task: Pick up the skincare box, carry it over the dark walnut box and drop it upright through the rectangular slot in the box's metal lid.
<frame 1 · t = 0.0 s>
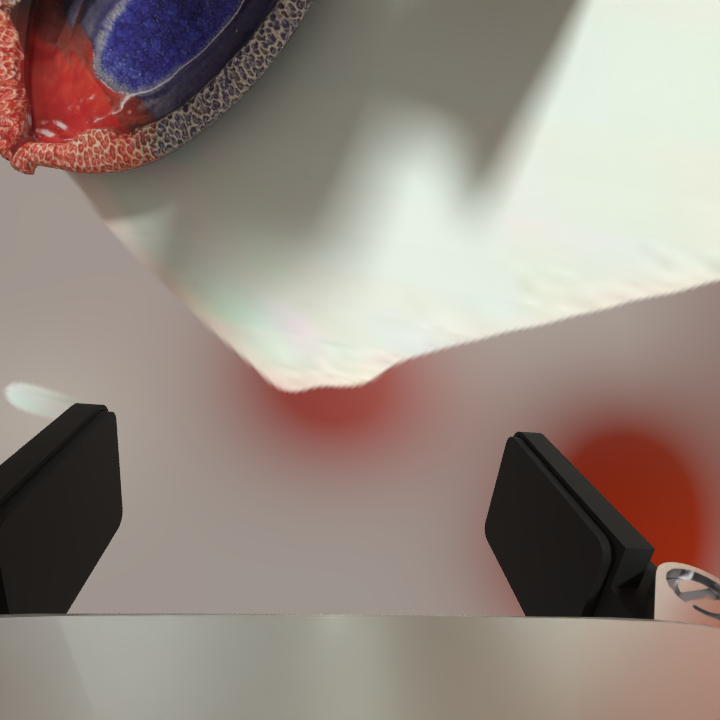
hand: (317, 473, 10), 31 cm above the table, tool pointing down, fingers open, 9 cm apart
dish: (170, 19, 33), on the table
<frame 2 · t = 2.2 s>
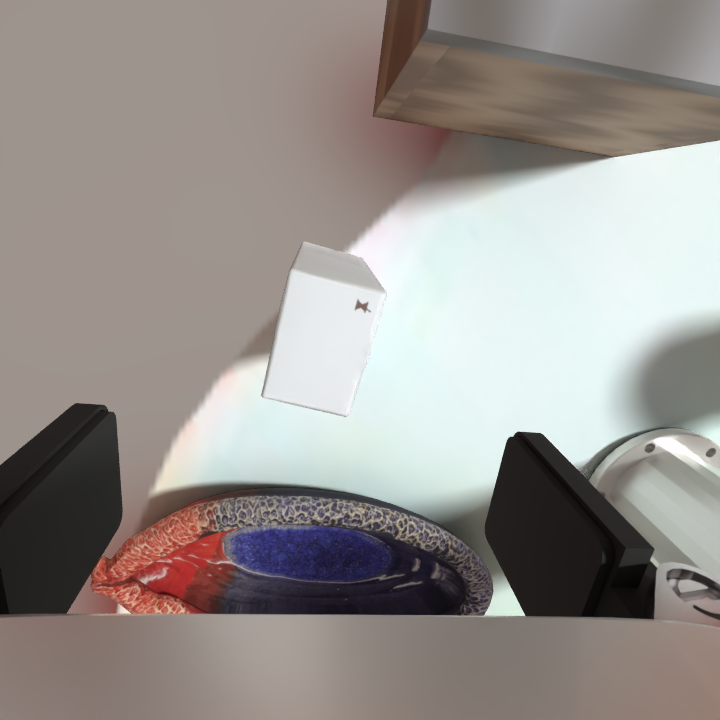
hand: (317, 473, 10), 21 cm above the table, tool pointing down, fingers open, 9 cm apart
skincare box: (321, 292, 30), on the table
dish: (306, 547, 37), on the table
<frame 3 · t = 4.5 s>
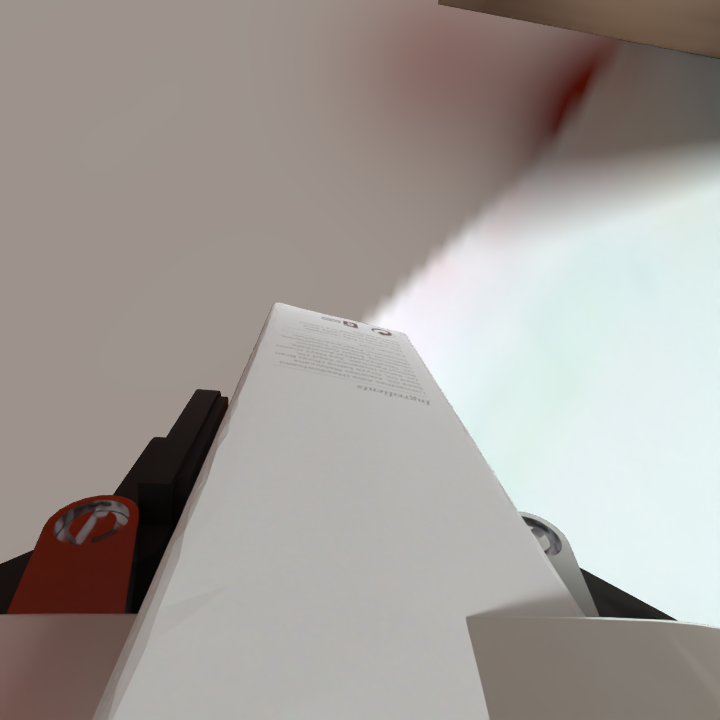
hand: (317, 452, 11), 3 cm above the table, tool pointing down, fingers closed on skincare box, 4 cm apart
skincare box: (317, 401, 14), on the table, touching gripper
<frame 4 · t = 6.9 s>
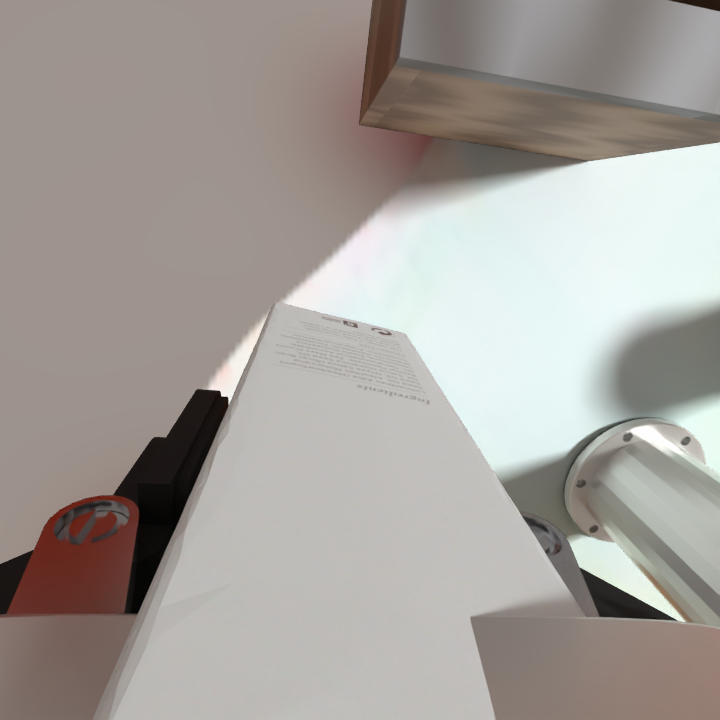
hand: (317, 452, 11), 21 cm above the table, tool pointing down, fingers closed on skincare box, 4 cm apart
skincare box: (317, 400, 14), point 18 cm above the table, touching gripper
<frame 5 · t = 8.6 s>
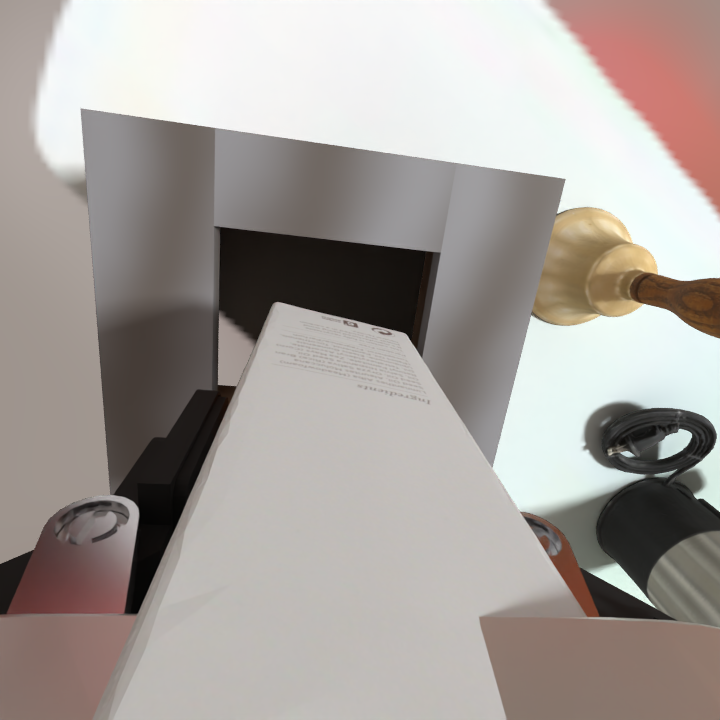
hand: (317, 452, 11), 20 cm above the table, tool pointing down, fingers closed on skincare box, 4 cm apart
slot box: (317, 298, 30), on the table
skincare box: (317, 400, 14), point 17 cm above the table, touching gripper
hand bell: (573, 268, 31), on the table
milk frother: (638, 482, 38), on the table
when the fingers open (18 cm above the table, at t = 9.6 s): skincare box drops 15 cm, resting in slot box.
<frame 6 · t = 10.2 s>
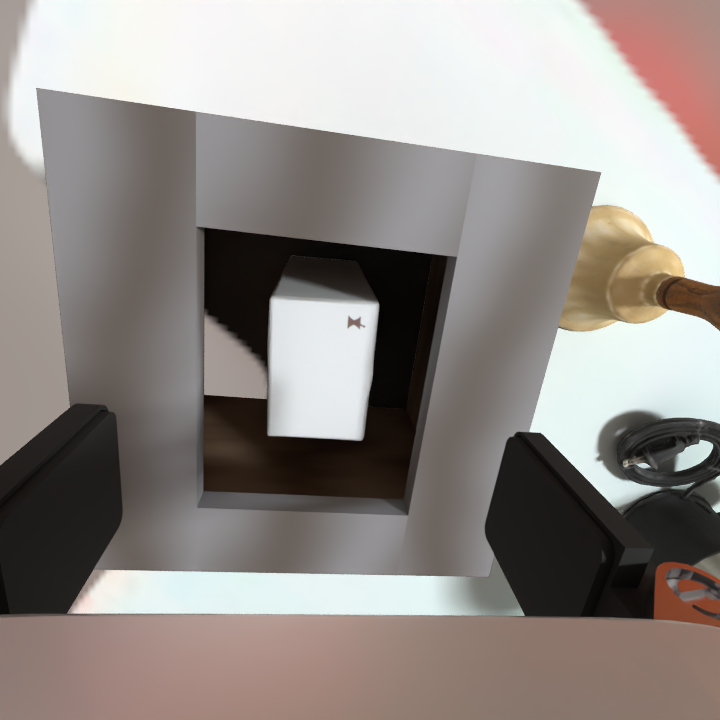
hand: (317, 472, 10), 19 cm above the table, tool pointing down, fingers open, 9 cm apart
slot box: (316, 303, 28), on the table
skincare box: (320, 304, 28), resting in slot box
hand bell: (589, 270, 29), on the table
milk frother: (653, 494, 37), on the table
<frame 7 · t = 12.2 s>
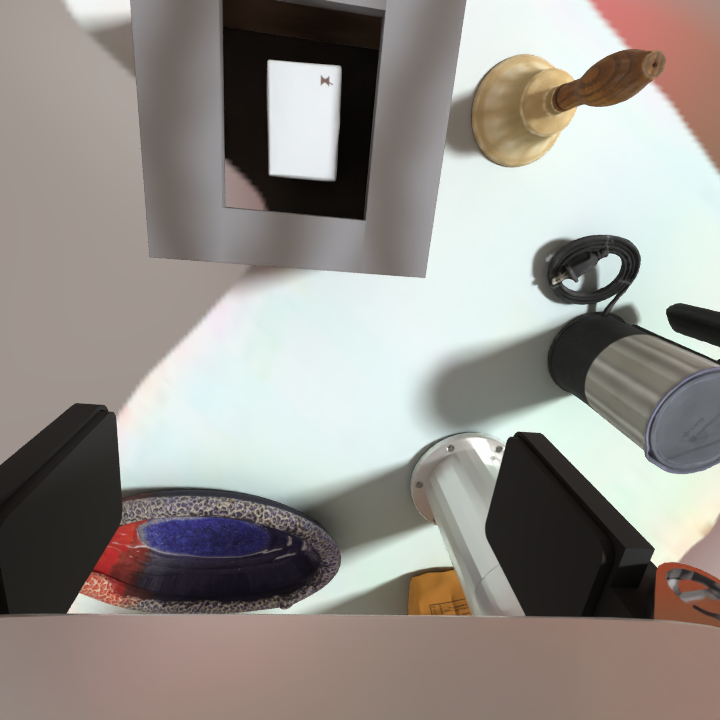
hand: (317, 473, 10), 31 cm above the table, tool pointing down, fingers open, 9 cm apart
slot box: (301, 140, 36), on the table
coffee package: (436, 598, 57), on the table
skincare box: (304, 142, 36), resting in slot box
hand bell: (517, 113, 37), on the table
dish: (204, 532, 49), on the table
milk frother: (582, 318, 45), on the table
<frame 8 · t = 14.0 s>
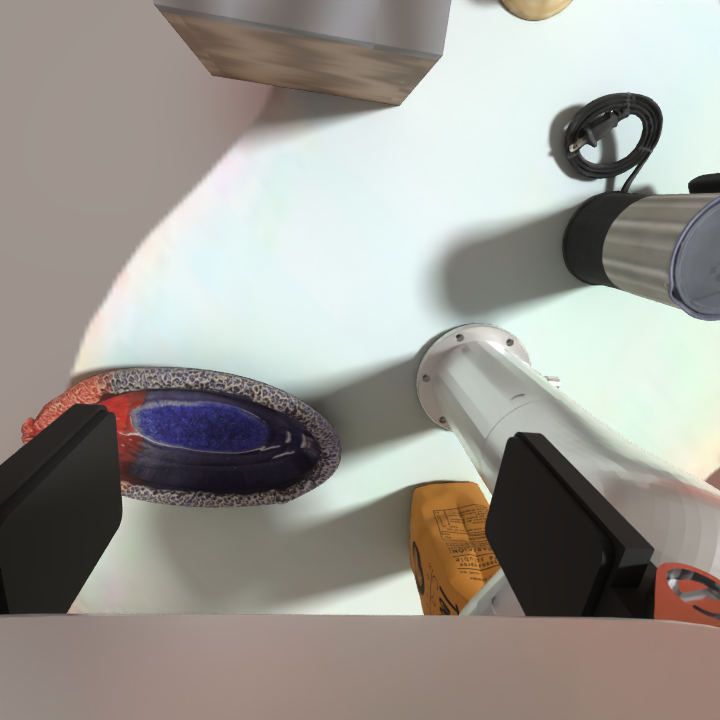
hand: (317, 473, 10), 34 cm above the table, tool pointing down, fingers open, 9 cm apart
coffee package: (440, 517, 55), on the table
dish: (199, 423, 47), on the table
milk frother: (599, 199, 43), on the table
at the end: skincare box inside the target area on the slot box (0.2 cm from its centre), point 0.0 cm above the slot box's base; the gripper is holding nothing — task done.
